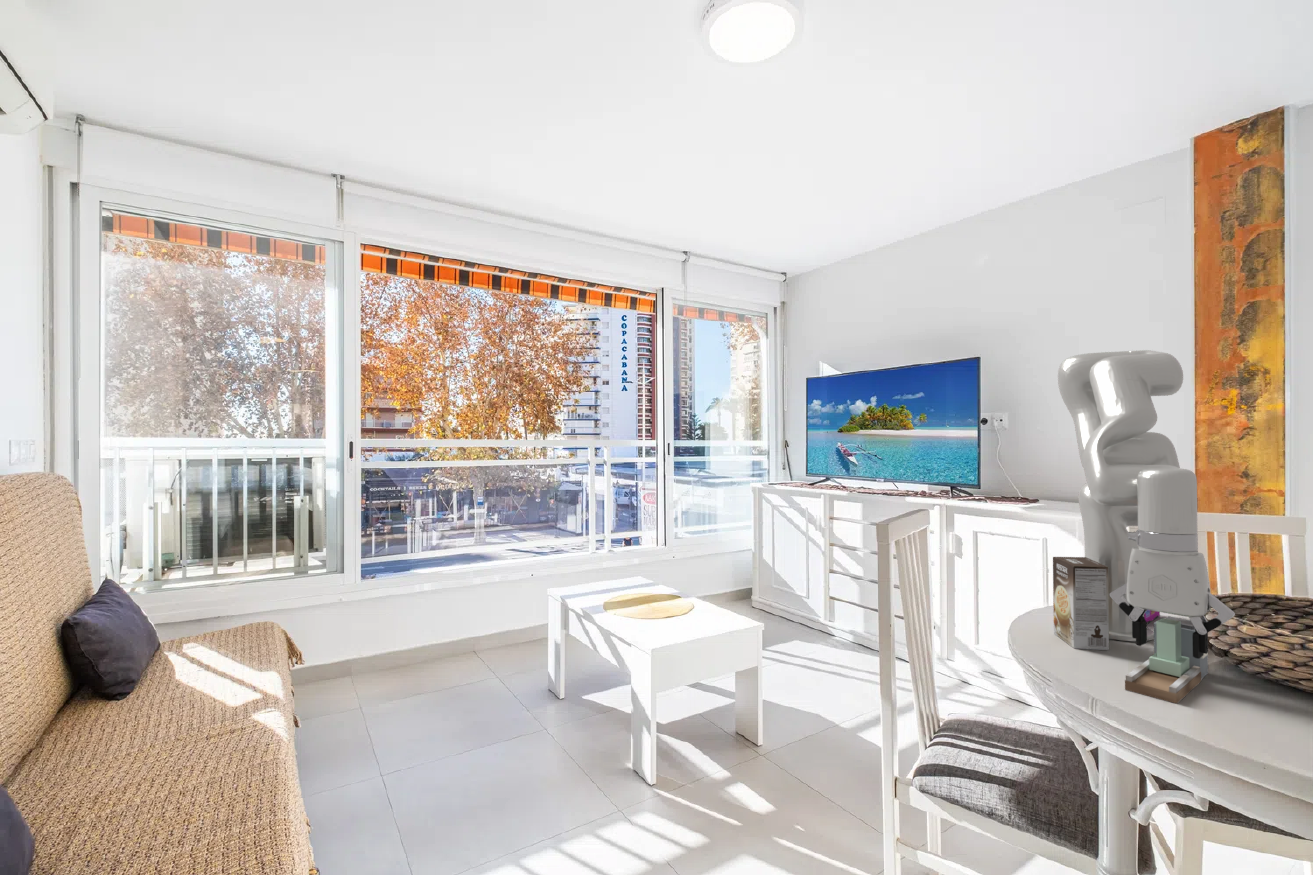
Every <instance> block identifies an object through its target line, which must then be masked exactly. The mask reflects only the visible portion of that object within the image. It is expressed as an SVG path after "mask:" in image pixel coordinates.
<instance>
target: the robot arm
mask: <svg viewBox="0 0 1313 875" xmlns="http://www.w3.org/2000/svg"><path fill="white" fill-rule="evenodd" d="M1183 382H1184V371H1183V368H1182V365H1181V363H1180V362H1179V360H1178V359H1177V358H1176V357H1175V356H1174V355H1172V354H1171V353H1167V352H1162V351H1157V350H1148V349H1145V350H1144V349H1143V350H1126V351H1125V350H1123V351H1105V352H1102V351H1101V352H1089V353H1082V354H1076V355H1072V356H1070V357H1067V358H1065V359H1064V360H1063V361H1062V362H1061V363H1060V364H1059V367H1058V370H1057V385H1058V389H1059V393H1060V396H1061V399H1062V401H1063V403H1064V405H1065V407H1066V408H1067V410H1068V412H1069V414H1070V416H1071V417H1072V420H1073V424H1074V429H1075V430H1074V431H1075V436H1076V442H1077V448H1078V455H1079V458H1080V463H1081V466H1082V468H1083V470H1084V475H1085V479H1086V483H1085V484H1083V485H1082V486H1081V487H1080V489H1079V492H1078V506H1079V509H1080V510H1079V511H1080V516H1081V519H1082V526H1083V535H1084V536H1083V537H1084V538H1083V539H1084V540H1083V542H1084V557H1087V558H1089V559H1091V560H1093V561H1096V562H1098V563H1100V564H1102V565H1105V566H1107V567H1109V568H1108V585H1109V587H1108V589H1109V640H1117V641H1123V642H1124V641H1125V642H1135V646H1138V647H1141V646H1143V645H1145V644H1146V643H1147V642H1148V641H1151V640H1154V629H1153V630H1152V629H1151V628H1149V627H1148V624H1147V621H1145V619H1144V614H1145V612H1146V611H1147V610H1152V611H1157V612H1160V613H1164V614H1170V615H1174V616H1180V617H1186V618H1187V617H1188V618H1189V620H1191V622H1192V623H1193V625H1194V627H1195V632H1194V633H1193V635H1192V639H1193V657H1194V658H1197V659H1199V658H1201V657H1202V656H1203V655H1204V653H1205V654H1207V653H1208V654H1209V633H1210V632H1211V631H1213V630H1215V629H1217V628H1218V627H1220V626H1222V625H1223V624H1225V623H1226V622H1228V621H1230V619H1232V618H1233V617H1235V615H1236V613H1235V612H1234V611H1233V610H1232V608H1230V607H1228V606H1227V605H1226V604H1225V603H1223V602H1222V601H1221V600H1219V599H1218V598H1217V597H1216V596H1215V595H1214V594H1212V592H1211V586H1210V585H1211V584H1210V580H1209V572H1208V566H1207V562H1206V558H1205V555H1204V554H1203V553H1202V552H1199V536H1198V535H1199V533H1198V480H1197V475H1196V474H1195V473H1194V472H1193V470H1191V469H1187V468H1181V467H1180V466H1181V465H1180V462H1179V459H1178V454H1177V451H1176V448H1175V445H1174V443H1173V442H1172V440H1171V439H1170V438H1169V437H1167V436H1166V435H1165V434H1163V433H1161V432H1154V431H1150V430H1151V429H1152V428H1153V427H1154V426H1155V425H1156V423H1157V422H1158V414H1157V411H1156V408H1155V406H1154V403H1153V400H1152V397H1164V396H1173V395H1174V394H1177V393H1178V392H1179V390H1180V389H1181V388H1182V386H1183ZM1127 527H1137V529H1136V531H1128V529H1127ZM1211 608H1212V609H1214V610H1215V611H1216V612H1217V615H1216V616H1215V617H1212V618H1211V619H1209V620H1208V619H1207V618H1206V616H1205V615H1206V614H1207V613H1209V612H1211Z"/></svg>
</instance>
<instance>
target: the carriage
mask: <svg viewBox="0 0 1313 875" xmlns="http://www.w3.org/2000/svg"><path fill="white" fill-rule="evenodd" d="M1166 618H1167V617H1162V618H1160V619H1157V620H1156V621H1155V622H1156V629H1157V652H1156V653H1155V654H1154V653H1153V654H1152V655H1151V656H1149V657H1148V659H1149V670H1153V671H1157V672H1162V673H1166V674H1170V675H1174V676H1178V677H1181V676H1182V675H1183V674H1185V673H1186V672H1187V671H1188V670H1189V658H1188V657H1184V656H1181V621H1176V620H1171V619H1166Z"/></svg>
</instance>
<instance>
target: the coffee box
mask: <svg viewBox="0 0 1313 875" xmlns="http://www.w3.org/2000/svg"><path fill="white" fill-rule="evenodd" d="M1108 568H1109V567H1107V566H1105V565H1102V564H1100V563H1098V562H1096V561H1093V560H1091V559H1089V558H1087V557H1085V556H1079V557H1078V556H1052V587H1053V588H1052V589H1053V590H1052V596H1053V598H1052V599H1053V634H1054V635H1055V636H1057V637H1058V638H1060V639H1061V640H1062V641H1064V643H1066V644H1067V645H1069V646H1070V647H1071V648H1073V649H1078V650H1095V651H1096V650H1098V651H1099V650H1100V651H1109V650H1110V643H1109V642H1110V639H1109V589H1108V587H1109V585H1108Z"/></svg>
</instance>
